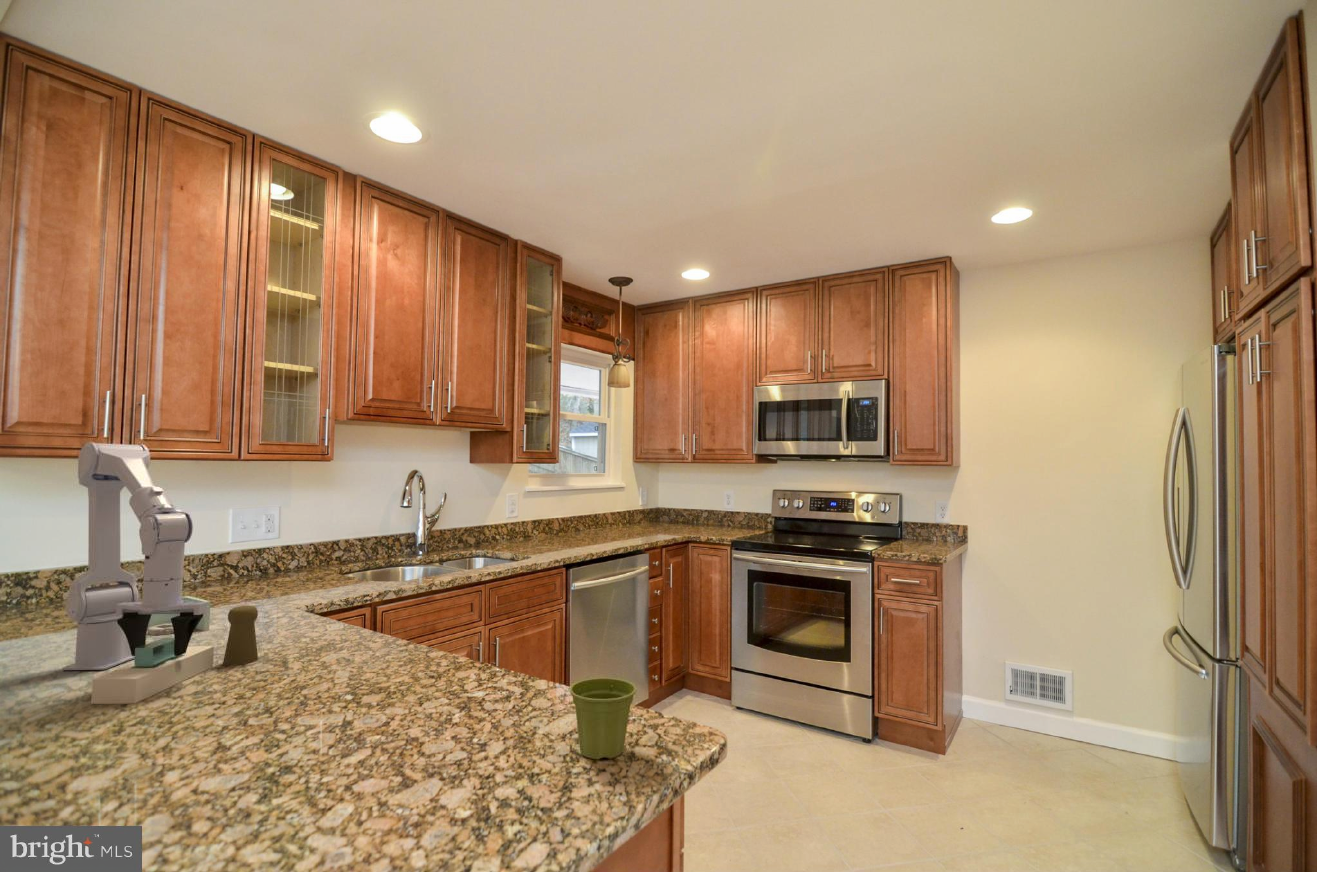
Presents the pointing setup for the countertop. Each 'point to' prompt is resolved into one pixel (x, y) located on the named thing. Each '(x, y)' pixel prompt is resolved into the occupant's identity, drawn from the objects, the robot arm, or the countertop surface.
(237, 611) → the cork
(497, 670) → the countertop surface
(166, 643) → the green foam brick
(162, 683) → the rail
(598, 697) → the plant pot
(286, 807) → the countertop surface
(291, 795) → the countertop surface
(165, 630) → the right angle wall
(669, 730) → the countertop surface
